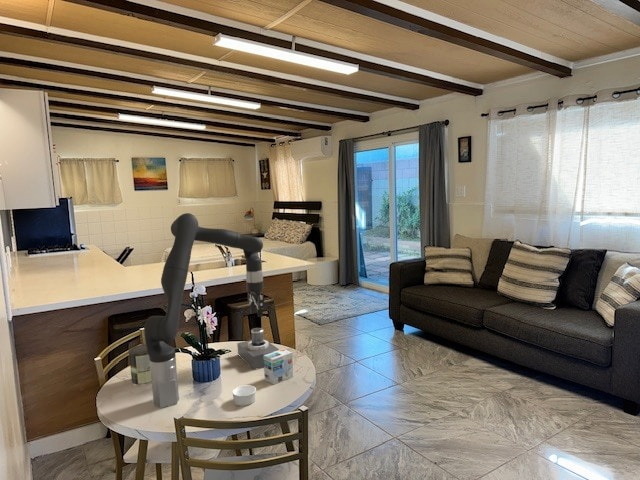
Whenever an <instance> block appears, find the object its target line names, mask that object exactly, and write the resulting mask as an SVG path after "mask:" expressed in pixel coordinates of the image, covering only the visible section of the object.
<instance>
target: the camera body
mask: <svg viewBox="0 0 640 480" xmlns="http://www.w3.org/2000/svg"><path fill="white" fill-rule="evenodd" d="M236 345H237V355H238V354H239V355H240V356H241V357H242V358H243V359H244V360H245V361H246V362H247V363H248V364H249V365H250V366H251V368H252V369H253V370H254V369H255V370H257V369H256V368H259V369H261V368H260V367H262V368H264V356H263V355H266V354H269V353H272V352H275V351H278V350H280V349H279V348H278V347H277V346H275V345H274V344H272V343H271V342H270V341H268V340H267V339H265V338H264V345H262V346H252V339H249V340H246V341H240V342H237V343H236ZM240 356H239V357H240ZM241 357H240V358H241ZM242 358H241V359H242ZM243 359H242V360H243ZM244 360H243V361H244ZM245 361H244V362H245ZM246 362H245V363H246ZM247 363H246V364H247ZM248 364H247V365H248ZM249 365H248V366H249ZM250 366H249V367H250Z"/></svg>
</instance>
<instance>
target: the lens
mask: <svg viewBox="0 0 640 480" xmlns="http://www.w3.org/2000/svg"><path fill="white" fill-rule="evenodd" d="M264 330H265V329H264V328H262V327H254V328H252V329H251V330H250V333H251V340H252V346H262V345H264V339H265V336H264V334H265V333H264Z"/></svg>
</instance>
